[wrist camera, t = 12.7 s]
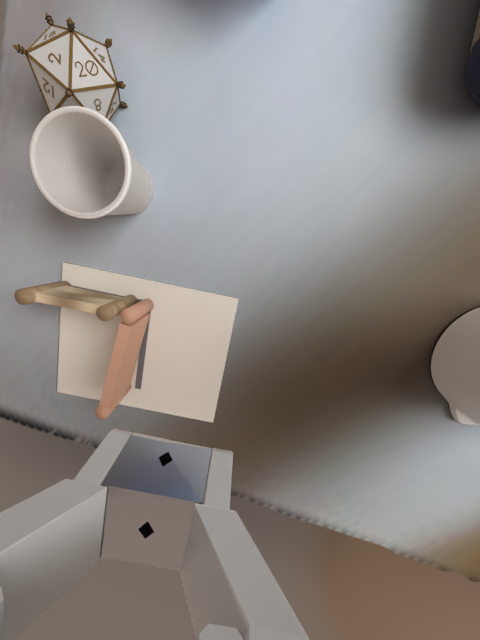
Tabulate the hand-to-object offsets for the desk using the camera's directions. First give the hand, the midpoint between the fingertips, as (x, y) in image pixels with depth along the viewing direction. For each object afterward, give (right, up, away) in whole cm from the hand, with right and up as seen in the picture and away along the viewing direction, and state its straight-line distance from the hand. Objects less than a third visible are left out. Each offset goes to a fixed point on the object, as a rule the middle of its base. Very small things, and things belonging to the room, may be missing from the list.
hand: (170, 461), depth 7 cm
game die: (-13, +27, +24) cm, 38 cm away
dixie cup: (-11, +19, +26) cm, 34 cm away
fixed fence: (-16, +7, +29) cm, 33 cm away
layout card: (-11, 0, +30) cm, 32 cm away
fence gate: (-12, 0, +30) cm, 32 cm away
